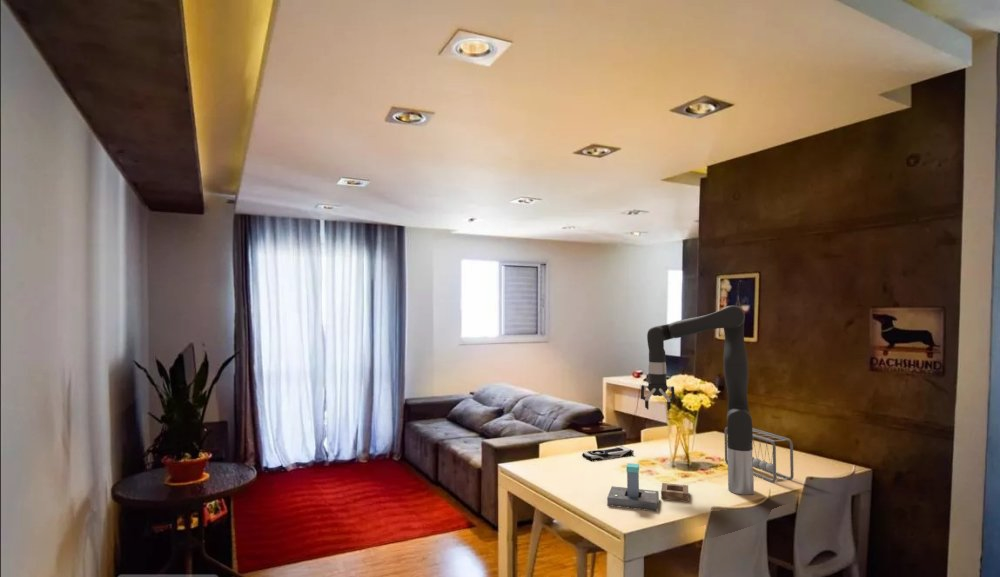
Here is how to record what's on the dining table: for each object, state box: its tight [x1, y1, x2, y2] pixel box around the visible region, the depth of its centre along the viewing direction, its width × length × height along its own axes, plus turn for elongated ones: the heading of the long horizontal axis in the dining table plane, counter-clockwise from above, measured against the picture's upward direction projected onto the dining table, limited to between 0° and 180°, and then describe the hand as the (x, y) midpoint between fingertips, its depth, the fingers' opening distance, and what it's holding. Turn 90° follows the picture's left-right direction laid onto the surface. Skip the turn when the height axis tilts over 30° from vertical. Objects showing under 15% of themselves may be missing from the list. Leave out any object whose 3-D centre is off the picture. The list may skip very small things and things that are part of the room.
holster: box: [660, 482, 689, 503], centre depth 212 cm, size 10×10×3 cm
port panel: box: [606, 485, 660, 512], centre depth 206 cm, size 18×13×3 cm
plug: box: [625, 462, 640, 498], centre depth 206 cm, size 4×4×14 cm
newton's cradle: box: [724, 426, 794, 483], centre depth 242 cm, size 30×10×18 cm, turn 18°
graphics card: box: [581, 445, 635, 462], centre depth 268 cm, size 10×3×25 cm
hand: (657, 409), depth 232 cm, fingers open, 8 cm apart
